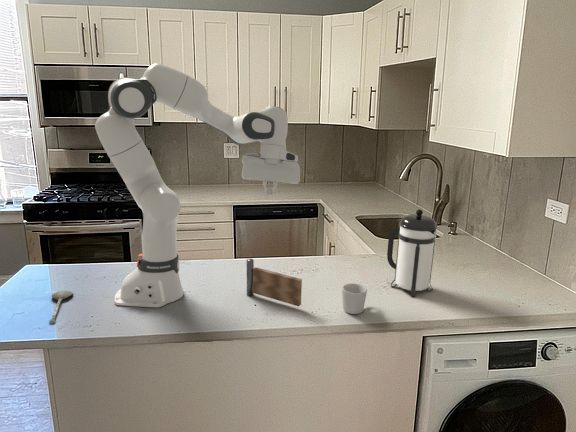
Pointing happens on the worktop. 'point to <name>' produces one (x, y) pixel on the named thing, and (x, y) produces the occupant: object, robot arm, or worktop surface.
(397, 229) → the coffee press
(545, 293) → the worktop surface
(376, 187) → the worktop surface
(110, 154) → the robot arm
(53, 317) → the soupspoon
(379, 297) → the worktop surface
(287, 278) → the gate
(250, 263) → the gate post
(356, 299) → the cup
